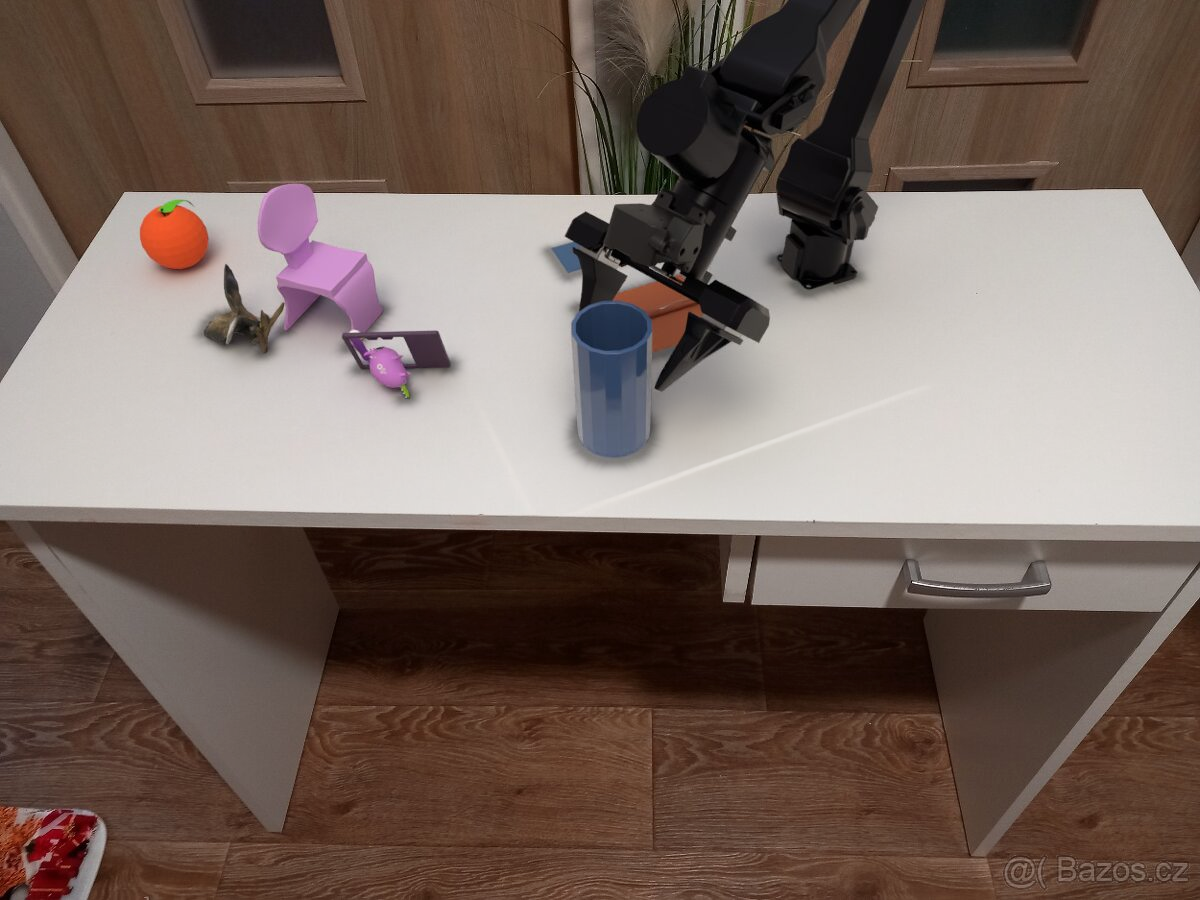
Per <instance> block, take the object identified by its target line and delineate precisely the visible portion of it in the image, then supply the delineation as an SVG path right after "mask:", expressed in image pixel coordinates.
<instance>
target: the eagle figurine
mask: <svg viewBox="0 0 1200 900" xmlns="http://www.w3.org/2000/svg"><path fill="white" fill-rule="evenodd" d="M223 292H224V297H225V300H226V302H227V304H228V306H229V308H230V311H229V312H225V313H219V314H218V315H216V316H215V317H213V318H212V320H211V321H210V320H209V322H208V325H207V326H205V328H204V330H203V336H204V337H209V338H211V339H212V340H214V341H215V342H223V341H224V340H225V339H226V342H225V344H226V345H228V344H230V342H231V341H232V339H233V336H234V334H240V335H243V336H244V337H245V338H248V339H250V340H252V342H251V343H252V344H253V345H256V344H257V343H258V342H259V347H260V348H261V349H262V352H263V353H264V354H266V353H267V344H268V340H269V335H270V333H271V329H272V327H273V325H274V324H275V323H276V322H277V320H278V318H279V317H280V316H281V314H282V313H283V312H284V309H285V306H286V305H285V301H284V302H283V301H282V302H281V303H280V305H279V306H278V307H277V309H276V310H275V311H274V313H273V314H272V316H271V317H270V315H268V314H267V312H264V310H263V309H260V315H259V316H260V317H258V316H256V315H254V314H253V313H252V312H250V311H249V310H247V308H246V307H245V306H244V303H243V300H242V296H241V293H240V286H239V282H238V281H237V279H236V277H235V274H234V272H233V270H232V269H231V268H230V265H228V264H227V263H224V268H223Z"/></svg>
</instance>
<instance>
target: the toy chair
mask: <svg viewBox="0 0 1200 900" xmlns="http://www.w3.org/2000/svg"><path fill="white" fill-rule="evenodd" d="M317 208H318V207H317V202H316V197H315V194H314V192H313V190H312V189H311V187H310V186H308V185H306V184H304V183H287V184H282V185H278V186H276V187H273V188H271V189H269V191H268V192H266V193H265V195H264V196H263V198H262V200H261V203H260V206H259V209H258V210H259V211H258V216H257V236H258V239H259V242H260V244H261V245H262V246H263V247H264V249H267V250H269V251H272V252H275V253H279V254H281V255H283V257H284V259H285V261H286V263H287V265H286V266H285V267H284V268H283V269H282V270H281V271H280V272H279V273H278V274H277V275H275V278H276V282H277V285H276V289H277V290H278V292H279V293H280V295H281V296H282V298H283V301H284V303H285V305H284V306H285V316H284V317H285V318H284V325H283V331H288V330H289V329H290V328H291V327H292V326H293V325H294V324H295V323H296V322H297V321H298V319H300V317H302V316H303V314H304V313H305V312H307V310H308V309H309V308H310V307H311V306H312V305H313V304H314V302H316V300H317V299H318V298H319V297H320V296H322V297H326V298H328V299H330V300H332V301H333V302H334V303H335V304H336V305H337V306H338V307H339V308H340V309H342V310H343V311H344V312H345V313H346V315H347V316H348V318H349V319H350V327H351V328H350V331H351V330H358V331H359V332H368V330H369V329H370V327H372V325H373V324H374V323H375V322H376V321H377V320H378V319H379V317H380V316H381V315H382V314H383V312H384V309H383V307H382V305H381V303H380V300H379V297H378V292H377V286H376V278H375V270H374V267H373V264H372V263H371V262H370V260H369V259H368V256H367V255H368V254H367V253H366V252H363V251H359V250H354V249H348V248H343V247H338V246H334V245H331V244H328V243H325V242H321V241H316V240H311V241H310V236H311V235H312V233H313V231H314V230H315V228H316V226H317V224H318V222H319V218H318V209H317ZM350 342H351V344H352V346H353V347H355V345H354V344H353V342H352V341H351V340H350Z"/></svg>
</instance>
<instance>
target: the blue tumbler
mask: <svg viewBox="0 0 1200 900" xmlns="http://www.w3.org/2000/svg"><path fill="white" fill-rule="evenodd" d="M570 337H571V352H572V366H573V381H574V397H575V410H576V411H575V413H576V423H577V424H576V426H577V435H578V439H579V441H580V443H581V445H582V446H583V447H584V448H585V449H586V450H588V451H589V452H591V453H592V454H594V455H597V456H599V457H604V458H610V459H611V458H613V459H615V458H616V459H617V458H623V457H628V456H631V455H633V454H635V453H637V452H639V450H641V449H642V448H644V447H645V445H646V443H647V442H648V441H649V438H650V434H651V416H652V413H651V412H652V376H653V375H652V373H653V372H652V369H653V368H652V367H653V353H652V320H651V319H650V317H649V316H648V315H647V313H646V312H645V311H644V310H643V309H641V308H639V307H638V306H636V305H634V304H631V303H627V302H623V301H601V302H598V303H594V304H591V305H589V306H587V307H585V308H584V309H582V310H581V311H579V310H578V311H577V313H576V314H575V316H574V318H573V319H572V321H571V323H570Z"/></svg>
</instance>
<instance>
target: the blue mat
mask: <svg viewBox="0 0 1200 900" xmlns="http://www.w3.org/2000/svg"><path fill="white" fill-rule="evenodd" d="M572 247H575V248H578V247H579V244H577V243H575V242H573V241H572V242H568V243H564V244H561V245H558V246H554V247H551V250H552V252H553V253H554V255H555V256H556V258H557V259H558V260H559V262H560V264H561V265H562V266H563V268H564V270H565V271H566V272H567V273H568V274H569V273H574V272H576V271H581V266H580V263H579V259H578V257H577V255H575V254H573V253H572Z"/></svg>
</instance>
